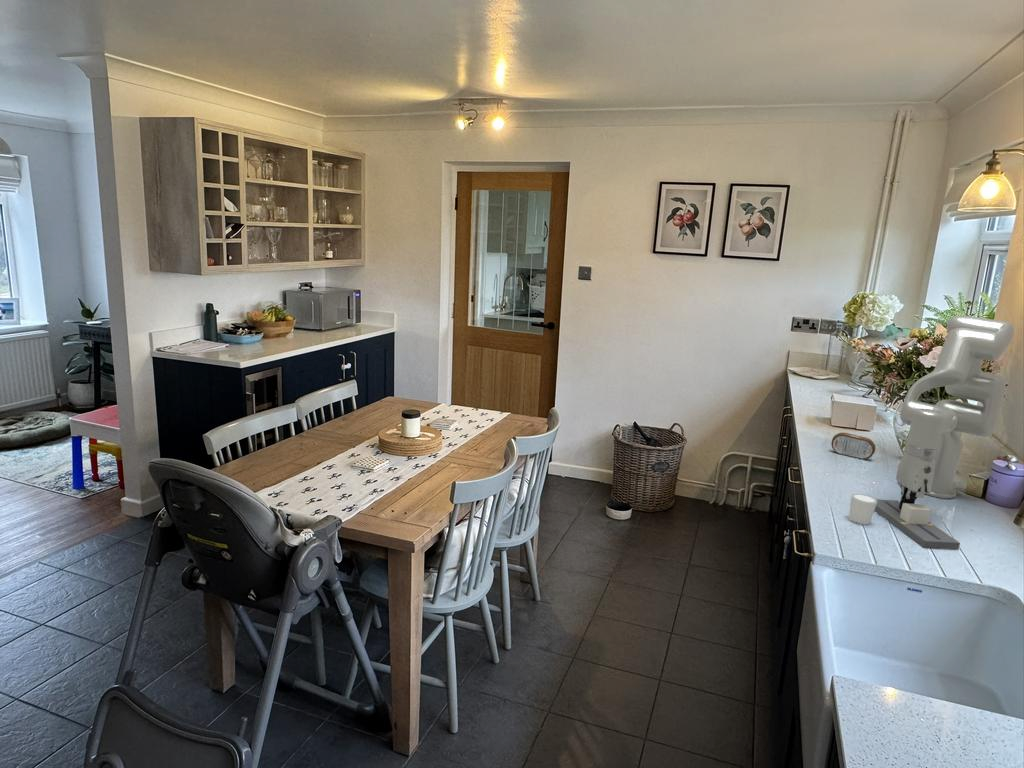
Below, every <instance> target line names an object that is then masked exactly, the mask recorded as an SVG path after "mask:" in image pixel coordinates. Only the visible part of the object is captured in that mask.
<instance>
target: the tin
mask: <svg viewBox="0 0 1024 768" xmlns="http://www.w3.org/2000/svg"><path fill="white" fill-rule="evenodd" d="M830 443H831V448H832V450H833V451H834V452H835V453H836V454H838V455H842V456H847V457H849V458H853V457H854V458H853V459H857V458H858V460H862V459H863V461H864V460H869V459H870V458H872V457H873V455H874V454H875V452H876V444H875V443H874V441H873V440H872V439H870V438H868V437H867V436H866V437H865V436H861V435H856V434H852V433H848V432H838V433H836V434H835V435H834V436H833V437H832V440H831V442H830Z"/></svg>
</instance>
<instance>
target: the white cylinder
mask: <svg viewBox="0 0 1024 768" xmlns="http://www.w3.org/2000/svg"><path fill="white" fill-rule="evenodd" d="M876 499H877V498H874V497H872V496H870V495H867V494H862V493H852V494H851V498H850V507H849V514H848V519H849V518H850V519H851V520H850V519H849V520H850V521H852V522H853V521H854V523H856V522H857V523H856V524H859V523H860V525H870V524H871V521H872V519H873V515H874V512H875V511H874V510H875V507H876V504H877V500H876ZM869 523H870V524H869Z"/></svg>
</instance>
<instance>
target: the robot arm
mask: <svg viewBox="0 0 1024 768" xmlns="http://www.w3.org/2000/svg"><path fill="white" fill-rule="evenodd" d="M946 333H947V334H946V337H945V340H944V342H943V345H942V346H941V350H940V352H939V355H938V357H937V360H936V364H935V368H934V369H933V370H932V371H931V372H930V373H927V374H926V375H924V376H922V377H920V378H919V379H918V380H916V381H915V382H913V384H912V385H911V386H910V388H909V389H908V391H907V393H906V395H905V398H904V400H903V403H902V406H901V409H900V412H899V417H900V418H899V419H900V421H901V422H902V423H903V424H905V425H907V426H910V428H909V431H908V435H907V439H906V443H905V448H904V451H903V453H902V456H901V459H900V460H899V464H898V465H897V466H898V467H897V471H896V474H895V480H896V481H897V485H898V486H899V487H900V495H901V496H900V501H899V502H900V505H899V509H902V505H903V503H909V504H915V502H916V500H917V499H925V495H928V496H931V497H933V498H934V497H935V498H940V499H949V498H950V499H954V498H956V496H957V493H956V491H955V490H966V489H967V484H966V483H961V482H960V483H958V482H957V481H955V477H956V473H957V470H958V468H959V467H958V466H959V462H960V458H961V455H962V451H963V441H962V440H963V439H962V438H961V436H960V435H959V433H963V434H964V433H965V434H969V435H972V436H976V437H981V438H982V437H983V438H988V437H991V436H992V435H993V434H994V432H995V430H996V427H997V424H998V420H999V416H1000V412H1001V409H1002V406H1003V402H1004V397H1005V392H1006V389H1007V388H1006V385H1007V384H1006V380H1005V377H1003V376H1001V375H999V374H997V373H996V374H995V373H993V372H992V373H990V372H987V371H986V372H985V371H982V366H983V362H984V361H988V362H996V361H997V360H999V359H1000V358H1001V356H1002V355H1003V354H1004V353H1005V351H1006V350H1007V348H1008V347H1009V345H1010V344H1011V343H1012V340H1013V338H1014V335H1015V334H1014V333H1015V329H1014V326H1013V324H1012V323H1010V322H1008V321H1004V320H999V319H990V318H986V317H979V316H972V315H954V316H951V317H949V318H948V321H947V323H946ZM940 387H941V388H942V387H944V389H945V390H944V391H945V392H946V394H948V395H950V396H953V397H956V398H960V399H964V400H969V401H972V402H973V401H975V402H980V403H981V404H982V405H983V406H981V405H978V404H972V403H969V402H965V401H959V400H954V399H942V400H938V402H936V404H931V403H927V402H922V401H917V400H918V399H919V397H920V396H921V395H922V394H923V393H925V392H927V391H929V390H932V389H936V388H940ZM958 432H959V433H958Z"/></svg>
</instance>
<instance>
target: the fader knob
mask: <svg viewBox="0 0 1024 768" xmlns="http://www.w3.org/2000/svg"><path fill="white" fill-rule="evenodd" d="M931 513H932V509H931V508H930V507H927V506H926V505H924V504H922V503H920V504H919V503H914V504H909V503H903V505H902V509H901V513H900V518H901V519H902V520H904V521H905V522H907V523H908V524H926V525H928V522H930V517H931Z"/></svg>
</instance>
